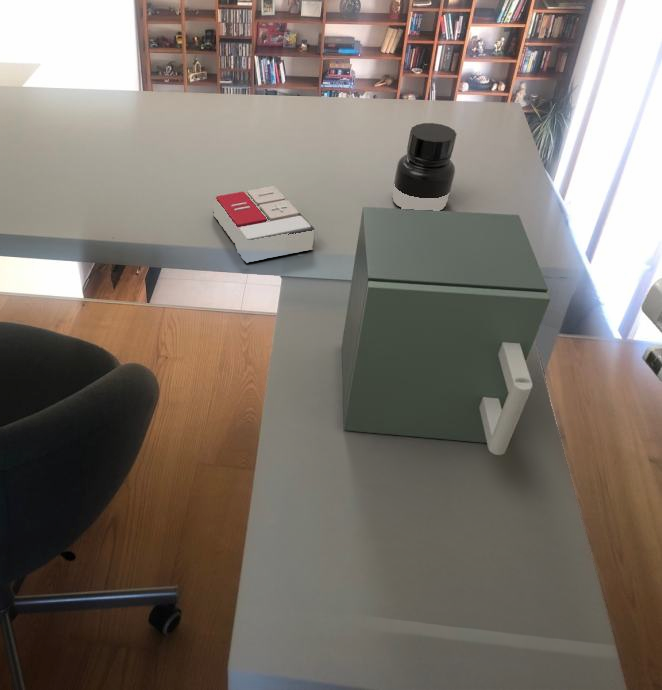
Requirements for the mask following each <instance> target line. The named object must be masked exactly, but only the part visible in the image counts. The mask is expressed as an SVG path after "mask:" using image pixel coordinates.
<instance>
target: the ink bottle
mask: <svg viewBox="0 0 662 690" xmlns="http://www.w3.org/2000/svg"><path fill="white" fill-rule="evenodd" d="M409 132H410V133H409V137H408V142H407V143H408V144H407V149H406V154H404V155H403V156H401V157H400V159H399V160H398V162H397V165H396V170H395V176H394V181H393V185H394V184H395V187H396V188H397V189H398V190H399V191H401V192H402V193H404V194H407V195H409V196H414V197H419V198H439V197H442V196H445V195H447V194H448V193H449V192H450V193H451V189H452V185H453V182H454V177H455V174H456V173H455V172H456V167H455V164H454V162H453V161H452V159H451V158H452V155H453V151H454V149H455V143H456V138H457V132H456V131H455V129H453V128H451V127H450V126H448V125H445V124H442V123H435V122H423V123H419V124H418V123H417V124H416V125H414V126H412V127H411V129H410V131H409Z"/></svg>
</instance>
